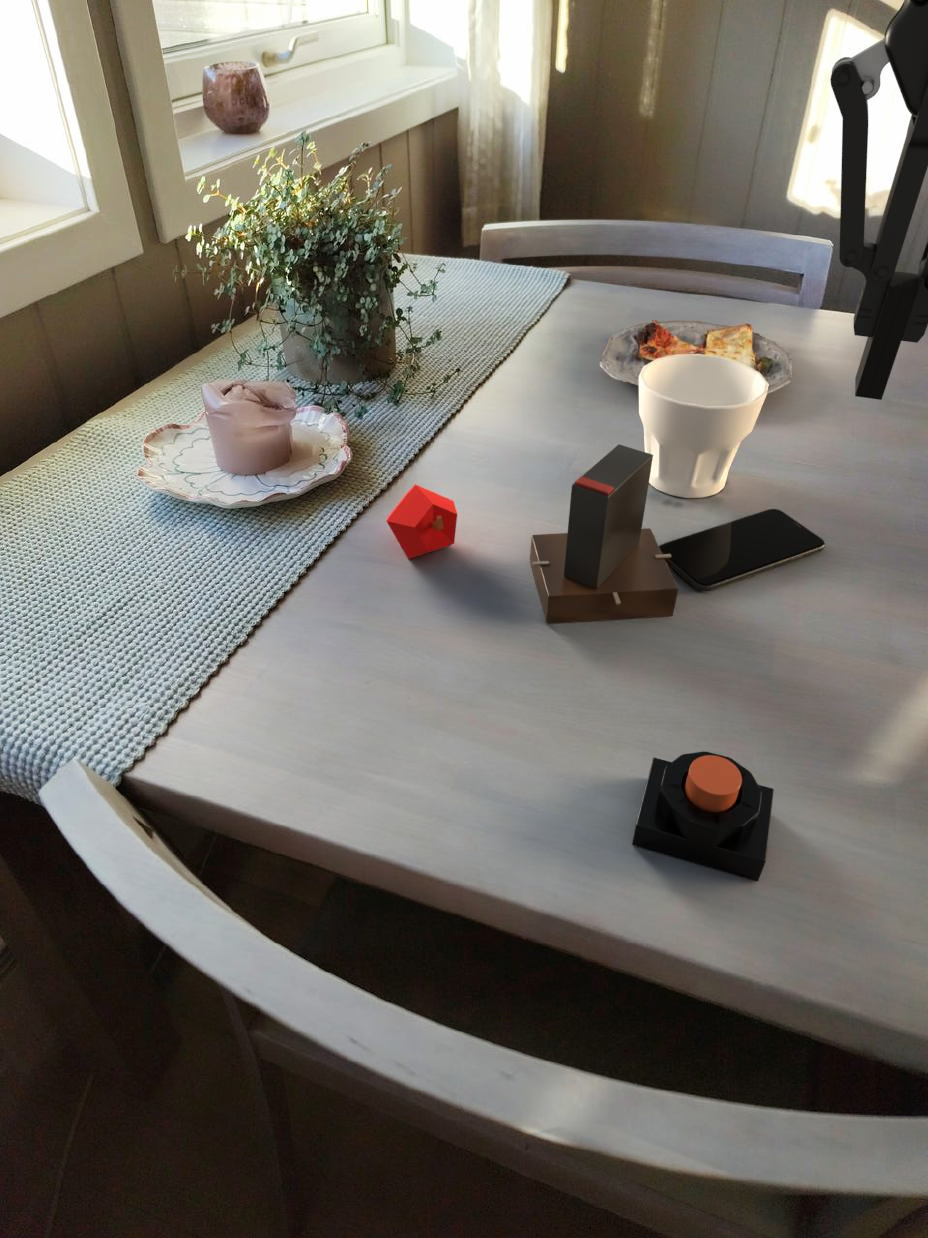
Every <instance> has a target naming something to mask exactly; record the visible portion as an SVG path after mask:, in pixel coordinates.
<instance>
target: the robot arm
mask: <svg viewBox="0 0 928 1238" xmlns="http://www.w3.org/2000/svg"><path fill="white" fill-rule="evenodd" d="M888 64H890V67H891V69H892V72H893V75H894V78H895V81H896V83H897V85H898V89H899V91H900V94H901V96H902V99H903V102H904V104H905V107H906V109H907V111H908V112H909V114H911V115H910V119H909V123H908V126H907V130H906V136H905V139H904V143H903V146H902V150H901V152H900V153H901V154H900V156H899V160H898V162H897V166H896V170H895V172H894V177H893V180H892V184H891V187H890V189H889V192H888V197H887V200H886V203H885V207H884V210H883V214H882V217H881V220H880V224H879V226H878V227H879V228H878V231H877V234H876V237H875V241H874V242H872V241H870V240H868V239H866V238H865V225H866V224H865V221H866V197H867V195H866V194H867V174H868V171H867V169H868V147H869V146H868V143H869V102H868V100H870V99H872V98H874V97H875V96H876V95H877V93H878V92H879V90H880V89H881V88H880V87H881V75H882V71H883V69H884V68H885V67H886V66H887V65H888ZM829 82H830V86H831V90H832V93H833V95H834V98H835V100H836V104H837V106H838V109H839V112H840V114H841V118H842V129H841V130H842V132H841V137H842V138H841V169H840V170H841V171H840V172H841V173H840V174H841V175H840V176H841V177H840V211H839V212H840V215H839V218H840V219H839V256H838V257H839V262H840V264H841V265H842V266H844V267H845V268H853V269H855V270H856V271H858V272H860V273H862V275H863V276H864V280H863V285H862V287H861V291H860V294H859V299H858V302H857V305H856V308H855V312H854V315H853V333H854V336H858V337H865V338H866V342H865V345H864V349H863V351H862V355H861V358H860V362H859V365H858V367H857V371H856V375H855V381H854V383H855V384H854V397H858V398H865V399H871V400H879V401H882V399H883V397H884V394H885V390H886V387H887V385H888V382H889V379H890V375H891V373H892V370H893V367H894V364H895V360H896V358H897V354H898V352H899V349H900V346H901V343H902V342H909V343H916V344H917V343H919V342H920V341H921V339H922V338H923V337H924V336H925V334H926V332H927V331H926V330H927V328H928V237H927V238H926V240H925V244H924V247H923V250H922V253H921V256H920V260H919V264H918V269H917V272H916V273H914V272H905V271H896V269H897V265H898V263H899V260H900V256H901V253H902V249H903V246H904V243H905V240H906V237H907V234H908V231H909V228H910V224H911V221H912V218H913V215H914V212H915V208H916V205H917V202H918V200H919V195H920V192H921V190H922V186H923V182H924V180H925V177H926V173H927V170H928V0H903V2H902V4H901V6H900V8H899V9H898V11H897V12H896V13H895V15H894V16H893V17H892V18H891V20H890V21H889V23H888V25H887V27H886V29H885V32H884V37H883V38H882V39H880V40H879V41H877V42H875V43H874V44H872V45H871V46H869V47H867V48H866V49H864V50H862V51H861V52H859V53H857V54H855V55H853V56H852V57H850V56H844V57H841V58H840V59H838V60H837V61H835V63H834V64H833V66H832V69H831V73H830V81H829Z"/></svg>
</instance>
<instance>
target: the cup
mask: <svg viewBox="0 0 928 1238" xmlns="http://www.w3.org/2000/svg"><path fill="white" fill-rule="evenodd" d="M768 386H769V384H768V382H767V381H766V380H765V379H764V377H763V376H762V375H761V373H760V372H758V371H756V370H754V369H753V368H751V367H749V366H748V365H746V364H744V363H741V362H737V361H734V360H731V359H727V358H724V357H718V356H711V355H703V354H677V355H672V356H667V357H662V358H657V359H656V360H654V361H652V362H650V363H649V364H647V365H645V366H644V367H643V369H642V371H641V373H640V375H639V386H638V415H639V418H640V420H641V422H642V426H643V438H644V439H643V441H644V452H646V453H649V454H652V455H653V460H652V466H651V472H650V478H649V484H650V485H651V486H652V487H653V488H655V489H656V490H657V491H660V492H662V493H664V494H667V495H669V496H674V497H678V498H684V499H700V498H701V499H702V498H707V497H710V496H714V495H717V494H719V492H721V491H722V490H723V489H724V488H725V485H726V482H727V478H728V474H729V470H730V468H731V465H732V463H733V461H734V459H735V456H736V454H737V453H738V449H739V447H740V445H741V442H742V441H743V440H744V439H745V438H746V437H747V436H749V434H751V433H752V431H754V427H755V424H756V423H757V419H758V417H759V415H760V412H761V409H762V407H763V405H764V402H765V401H766V398H767V395H768V394H767V391H768Z"/></svg>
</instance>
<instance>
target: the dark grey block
mask: <svg viewBox="0 0 928 1238" xmlns="http://www.w3.org/2000/svg"><path fill="white" fill-rule="evenodd" d="M652 460H653V455H652V454H649V453H646V452H645V451H643V450H639V449H636V448H633V447H629V446H626V445H623V444H617V445H616V446H615V447H613V448H612V449H611V450H610V451H609V452H608V453H607V454H605V456H603V457H602V458H601V459H600V460H599V461H598V462H596V464H594V465H593V466H591V468H590V469H588V470H587V471H586V472H584V474H583V475H582V476H579V478H577V479H576V480H575V481H574V482H573V483H572V484H571V490H570V491H571V493H570V502H569V511H568V512H569V513H568V523H567V524H568V525H567V532H566V533H567V544H566V555H565V566H564V577H567V578H569V579H572V580H574V581H577V582H579V583H582V584H584V585H587V586H589V587H592V588H594V589H597V588H598V587H599V586H600V585H601V584H602V583H603V582H604V581H605V580H606V579H607V578H608V577H609V576H610V575H611V574H612V572H613V571H614V570H615V569H616V568H617V567H618V566H619V565H620V564H621V563H622V562H623V561H624V560H625V559H626V558H627V557H628V555H629V554H630V553H631V552H632V551H633V550H634V549H635V548H636V547H637V546H638V545H639V542H640V535H641V529H643V522H644V517H645V509H646V502H647V496H648V491H649V484H650V483H649V478H650V472H651V466H652Z"/></svg>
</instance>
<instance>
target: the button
mask: <svg viewBox="0 0 928 1238" xmlns="http://www.w3.org/2000/svg"><path fill="white" fill-rule="evenodd" d="M741 782H742V777H741V774H740V771H739V770H738V768H737V767H736V766H735V765H734V764H733V763H732V762H730V761H729V760H727V759H725V758H722V757H719V756H713V755H707V756H702V757H699V758H697V759H696V760H694V761H693V762H692V764H691V765H690V768H689V772H688V776H687V780H686V784H685V792H686V795H687V797H688V799H689V800H690V801H691V802H692V803H693V804H694V805H695V806H697V807H698V808H700V809H702V810H705V811H709V812H723V811H726V810H728V809H730V808H731V807H732V806H733V805H734V804H735V801H736V798H737V795H738V792H739V789H740V786H741Z"/></svg>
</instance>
